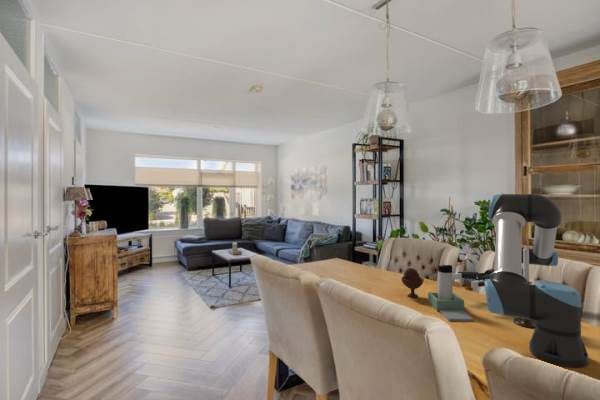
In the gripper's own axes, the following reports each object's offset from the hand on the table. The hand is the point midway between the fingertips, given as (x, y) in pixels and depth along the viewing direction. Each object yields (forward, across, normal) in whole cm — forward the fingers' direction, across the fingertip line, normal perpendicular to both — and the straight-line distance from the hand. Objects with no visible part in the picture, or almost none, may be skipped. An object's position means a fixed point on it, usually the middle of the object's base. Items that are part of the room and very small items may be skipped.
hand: (460, 280), depth 155 cm
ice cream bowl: (+14, +18, -12) cm, 25 cm away
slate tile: (+13, -12, -11) cm, 21 cm away
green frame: (+9, 0, -11) cm, 14 cm away
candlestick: (-8, -27, -12) cm, 30 cm away
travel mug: (+9, 0, -12) cm, 15 cm away
